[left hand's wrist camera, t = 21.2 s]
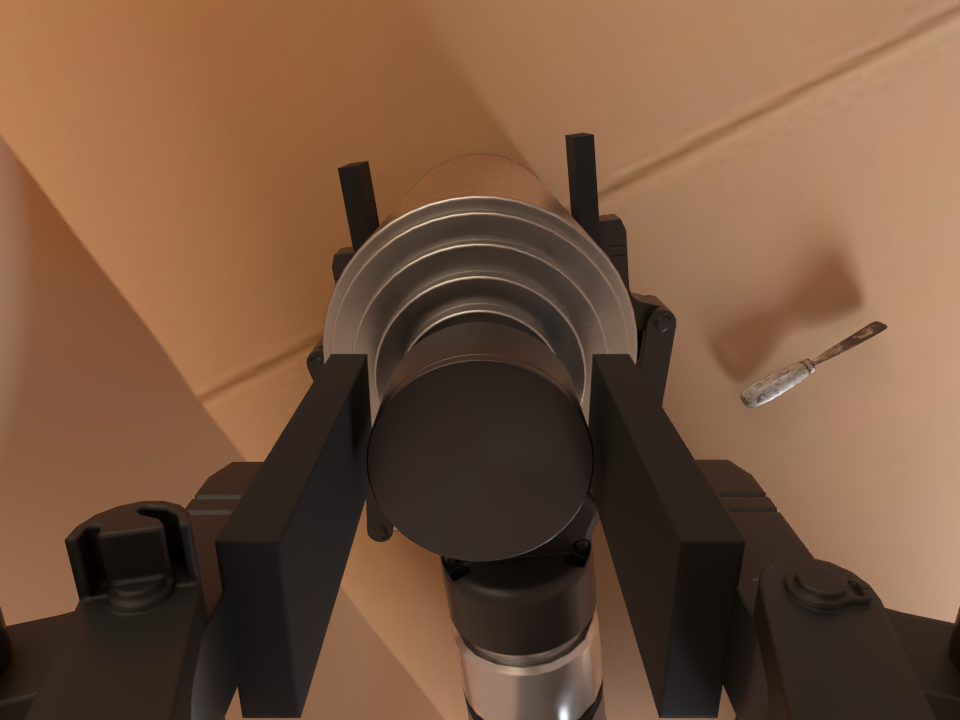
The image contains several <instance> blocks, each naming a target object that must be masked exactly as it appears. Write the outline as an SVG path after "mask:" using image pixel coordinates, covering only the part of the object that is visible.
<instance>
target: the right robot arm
mask: <svg viewBox="0 0 960 720" xmlns="http://www.w3.org/2000/svg"><path fill="white" fill-rule="evenodd" d="M565 137H566V150H567V163H568V176H569V189H570V202H571V215H572V217H573V218H574V219H575V220H576V222H577V223H578V224H579V225H580V226H581V227H582V228H583V229H584V231H585V232H586V233H587V234H588V235H589V236H590V237H591V238H592V239H593V241H594V242H595V243H596V244H597V245H598V246H599V247H600V248H601V250H602V251H603V252H604V253H605V254H606V255H607V256H608V258H609V259H610V261H611V262H612V264H613V265H614V267H615V268H616V270H617V271H618V273H619V275H620V277H621V279H622V281H623V283H624V285H625V287H626V289H627V292H628V295H629V298H630V301H631V304H632V307H633V310H634V316H635V322H636V327H637V358H636V366H637V368H638V369H639V371H640V373H641V374H642V376H643V377H644V379H645V381H646V382H647V384H648V385H649V387H650V389H651V390H652V392H653V393H654V395H655V397H656V398H657V400H658V402H659V403H660V405H661V406H662V402H663V396H664V391H665V385H666V379H667V374H668V368H669V362H670V357H671V351H672V345H673V339H674V334H675V328H676V318H675V316H674V314H673V313H672V312H671V311H670V310H669V309H668V308H667V307H666V306H665V305H664V304H663V303H662V302H661V301H660V300H659V299H658V298H657V297H655V296H652V295H647V296H643V295H639V294H635V293H632V292H630V290H629V278H628V258H627V238H626V229H625V227H624V225H623V223H622V221H621V219H620V218H619V217H617V216H616V215H615V214H610V215H602V216H599V211H598V195H597V179H596V163H595V147H594V135H592V134H587V133H578V134H571V135H565ZM338 171H339V176H340V182H341V187H342V192H343V197H344V203H345V208H346V213H347V218H348V224H349V229H350V234H351V239H352V245H353V247H347V248H341V249H340V250H339V251H338V252H337V253H336V254H334V259H333V265H332V269H333V274H334V279H335V284H336V283H337V282H338V280H339V278H340V276H341V274H342V272H343V270H344V269H345V267H346V266H347V264H348V263H349V261H350V260H351V259H352V257H353V256H354V255H355V253H356V252H357V251H358V250H359V248H360V247H361V246H362V245H363V244H364V243H365V242H366V241H367V239H368V238H369V237H370V236H371V235H372V234H373V233H374V232H375V231H376V229H377V228H378V227H379V220H378V214H377V208H376V203H375V197H374V191H373V186H372V180H371V174H370V169H369V163H368V161H365V162H357V163H350V164H348V165H345V166H342V167H340V168H338ZM323 366H324V354H323V337H322V338H321V339H320V341H319V342H318V343H317V345H316V346H315V348H314V349H313V350H312V352H311V354H310V355H309V356H308V358H307V367H308V370H309V372H310V374H311V376H312V379H313V381H315V379H316V377H317V376H318V374H319V372H320V371H321V369H322V368H323ZM366 504H367V532H368V535H369V536H370V538H371V539H373V540H375V541H378V542H383V541H387V540H388V539H390V537H391V536H392V533H393V530H397V528H396V527H395V526H394V525H393V524H392V523H391V522H390V521H389V520H388V519H387V517H386V516H385V514H384V513H383V512H382V510H381V509H380V507H379V505H378V503H377V501H376V499H375V497H374V495H373V492H372V489H371V487H370V486H369V489H368V493H367V496H366ZM599 517H600V516H599V513H598V509H597V506H596V503H595V499H594V496H593V493H592V489H591V486H590V488H589V491H588V494H587V496H586V498H585V500H584V502H583V504H582V506H581V508H580V510H579V511H578V512H577V514H576V515H575V517H574V518H573V519H572V521H571V522H570V523H569V524H568V525H567V526H566V527H565V528H564V529H563V530H562V531H561V532H560V533H558V534H557V535H556V536H555V537H553V538H552V539H551V540H549V541H548V542H546V543H544V544H543V545H541V546H539V547H537V548H535V549H533V550H531V551H529V552H527V553H524V554H521V555H518V556H515V557H511V558H506V559H502V560H493V561H467V560H459V559H454V558H450V557H446V556H443V555H440V559H441V565H442V570H443V576H444V582H445V588H446V594H447V599H448V605H449V611H450V616H451V620H452V622H453V635H454V640H455V646H456V651H457V656H458V662H459V667H460V672H461V677H462V683H463V690H464V695H465V699H466V703H467V707H468V715H469V720H606V714H605V706H604V697H603V679H602V674H603V667H602V656H601V645H600V633H599V622H598V611H597V609H596V601H597V596H596V584H595V571H594V559H593V546H592V533H593V530H594V527H595V525H596V523H597V522H598V520H599Z"/></svg>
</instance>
